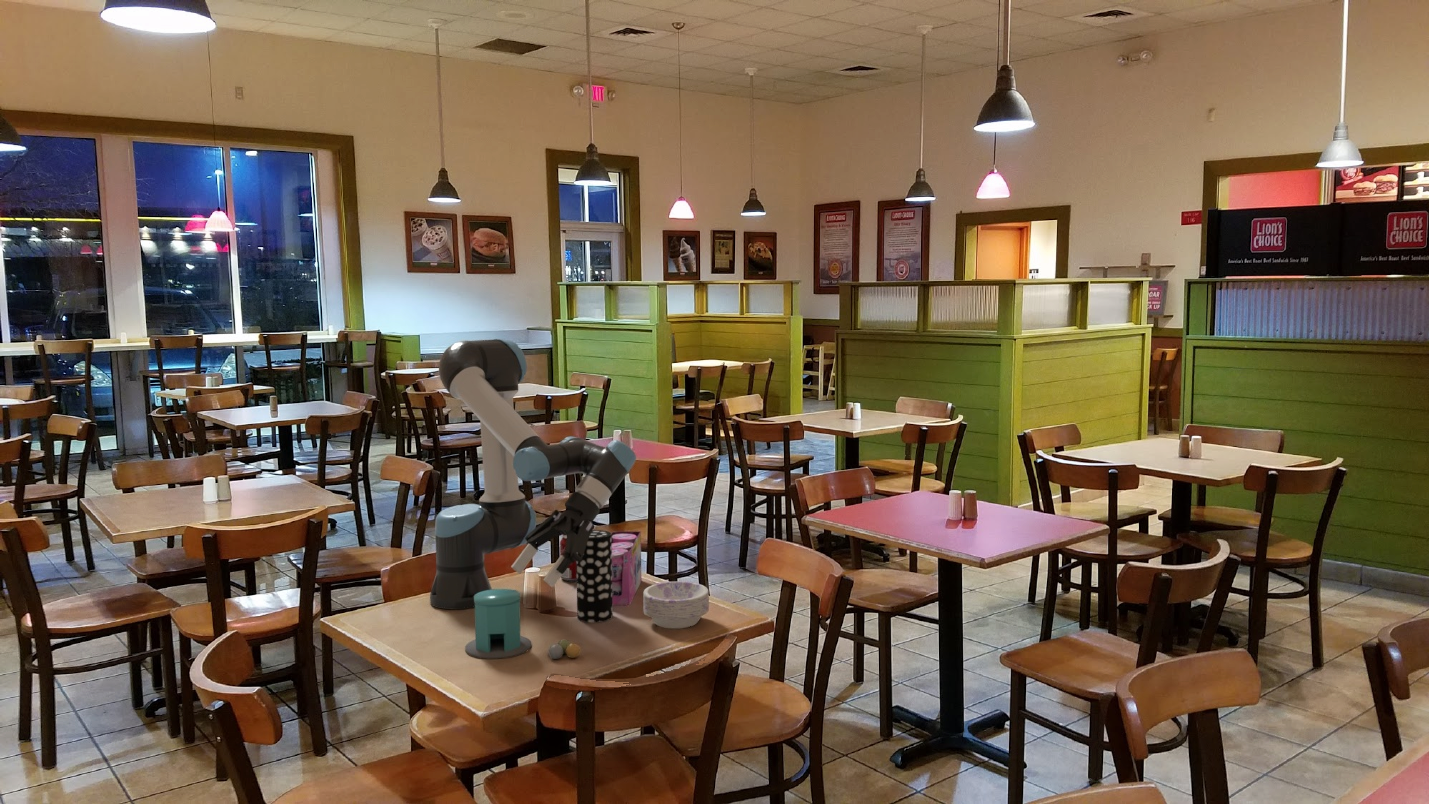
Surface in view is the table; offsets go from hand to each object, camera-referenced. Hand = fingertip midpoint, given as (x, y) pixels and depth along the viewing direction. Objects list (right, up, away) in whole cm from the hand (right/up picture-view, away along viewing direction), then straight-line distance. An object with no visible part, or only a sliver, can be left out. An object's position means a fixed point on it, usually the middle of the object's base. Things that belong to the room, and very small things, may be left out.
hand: (531, 577), depth 226 cm
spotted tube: (+12, -13, +18) cm, 25 cm away
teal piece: (-6, -14, -3) cm, 16 cm away
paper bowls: (+31, -13, +13) cm, 37 cm away
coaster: (-6, -15, -3) cm, 16 cm away
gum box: (+16, -11, +38) cm, 43 cm away
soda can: (+2, -9, +51) cm, 52 cm away
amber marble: (+11, -15, -10) cm, 21 cm away
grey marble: (+7, -15, -10) cm, 20 cm away
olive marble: (+8, -15, -7) cm, 19 cm away
